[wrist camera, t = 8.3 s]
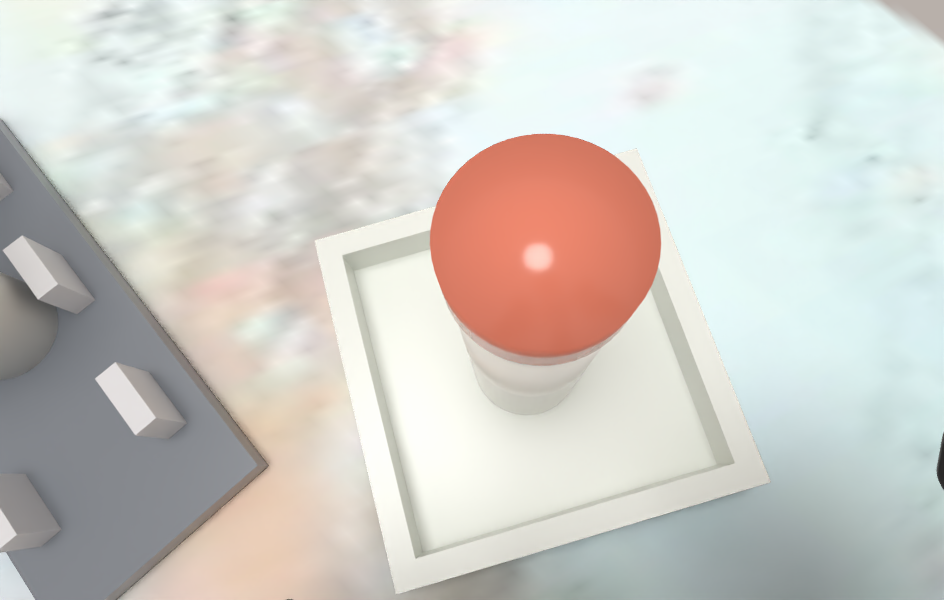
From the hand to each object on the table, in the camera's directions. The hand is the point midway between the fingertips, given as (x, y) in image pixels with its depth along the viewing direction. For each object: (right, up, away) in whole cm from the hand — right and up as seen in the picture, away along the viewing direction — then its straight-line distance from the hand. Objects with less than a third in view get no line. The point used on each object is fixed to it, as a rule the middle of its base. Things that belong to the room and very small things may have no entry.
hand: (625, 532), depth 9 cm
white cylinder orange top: (0, +1, +14) cm, 14 cm away
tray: (0, +1, +14) cm, 14 cm away
